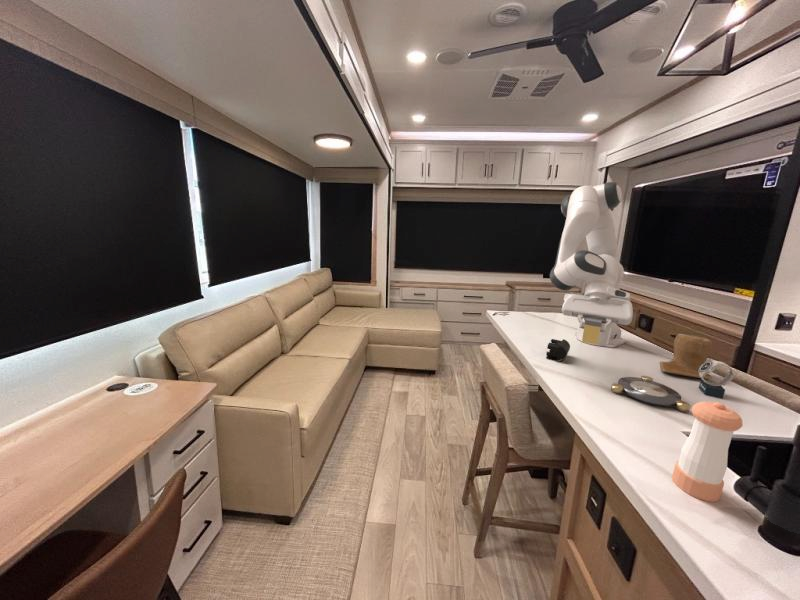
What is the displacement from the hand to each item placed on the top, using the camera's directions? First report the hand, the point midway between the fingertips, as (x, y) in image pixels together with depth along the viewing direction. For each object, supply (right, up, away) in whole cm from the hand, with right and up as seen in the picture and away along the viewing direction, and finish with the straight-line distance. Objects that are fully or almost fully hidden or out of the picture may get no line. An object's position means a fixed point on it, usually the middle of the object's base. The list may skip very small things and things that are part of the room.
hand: (592, 329), depth 102 cm
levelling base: (+17, -21, -4) cm, 27 cm away
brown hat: (+42, -18, +14) cm, 48 cm away
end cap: (+1, -14, +25) cm, 29 cm away
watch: (+39, -21, 0) cm, 44 cm away
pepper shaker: (-3, -29, -38) cm, 48 cm away
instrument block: (0, -4, +1) cm, 4 cm away
